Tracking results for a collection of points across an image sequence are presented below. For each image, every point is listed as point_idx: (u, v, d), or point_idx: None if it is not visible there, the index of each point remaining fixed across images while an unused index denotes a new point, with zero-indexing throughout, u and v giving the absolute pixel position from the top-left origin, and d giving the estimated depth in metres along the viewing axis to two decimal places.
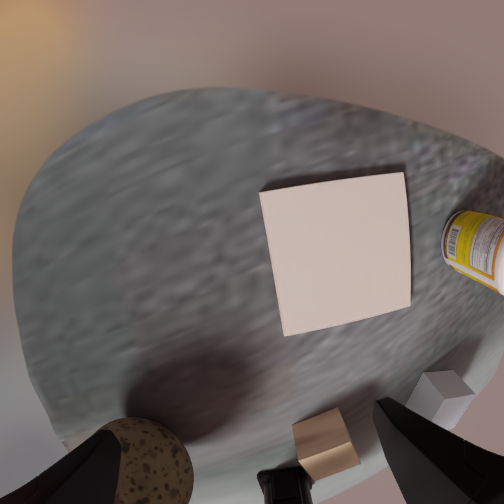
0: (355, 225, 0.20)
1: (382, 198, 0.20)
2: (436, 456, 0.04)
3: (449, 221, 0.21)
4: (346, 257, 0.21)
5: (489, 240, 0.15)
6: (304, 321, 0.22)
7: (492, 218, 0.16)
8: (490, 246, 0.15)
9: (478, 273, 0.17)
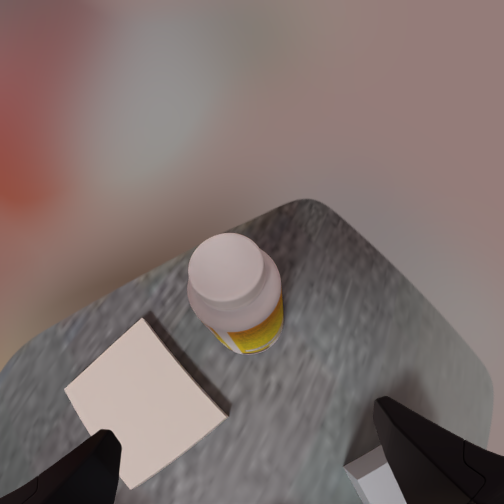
0: (125, 379, 0.21)
1: (135, 347, 0.22)
2: (436, 456, 0.04)
3: None
4: (132, 407, 0.20)
5: None
6: (136, 472, 0.17)
7: None
8: None
9: (219, 336, 0.18)
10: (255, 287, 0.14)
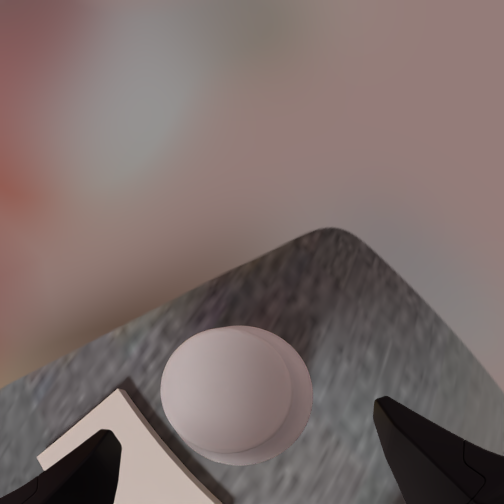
0: None
1: (111, 425, 0.15)
2: (436, 456, 0.04)
3: None
4: None
5: None
6: None
7: None
8: None
9: None
10: (276, 431, 0.07)
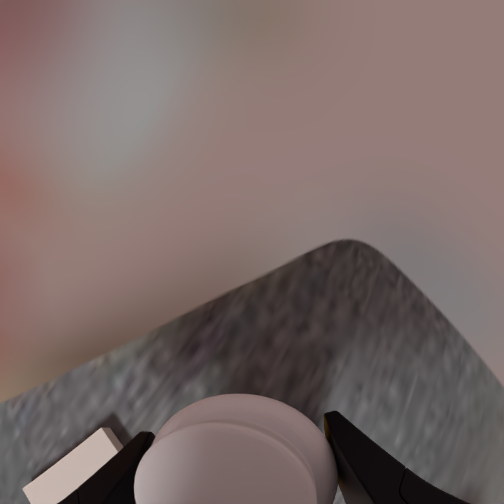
0: None
1: (96, 467, 0.12)
2: (370, 482, 0.04)
3: None
4: None
5: None
6: None
7: None
8: None
9: None
10: None
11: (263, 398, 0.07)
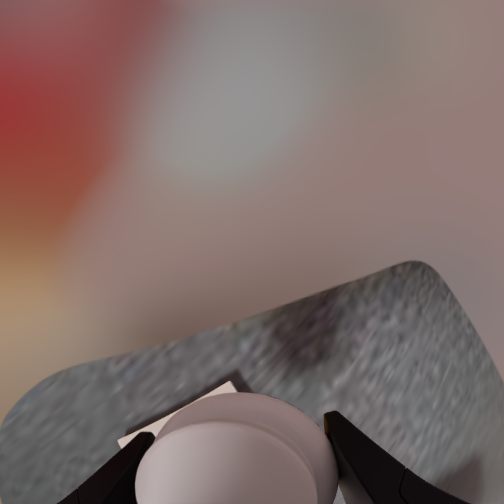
0: None
1: None
2: (370, 482, 0.04)
3: None
4: None
5: None
6: None
7: None
8: None
9: None
10: None
11: (264, 397, 0.07)
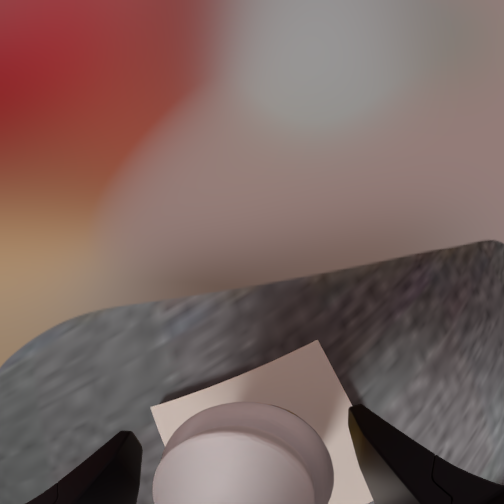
0: None
1: (297, 381, 0.15)
2: (403, 470, 0.04)
3: None
4: None
5: None
6: None
7: None
8: None
9: None
10: None
11: (267, 406, 0.08)
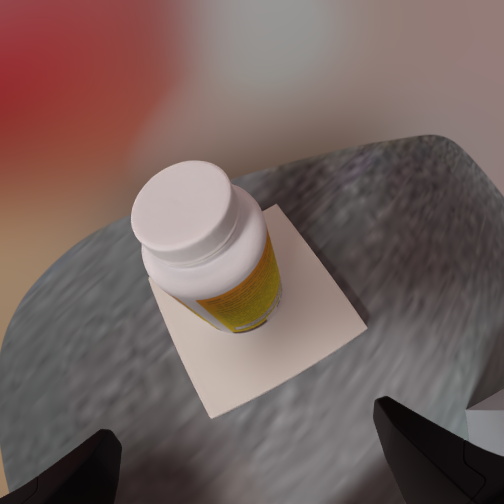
0: None
1: None
2: (436, 456, 0.04)
3: None
4: None
5: None
6: (228, 394, 0.16)
7: None
8: None
9: (192, 310, 0.13)
10: (220, 224, 0.09)
11: None
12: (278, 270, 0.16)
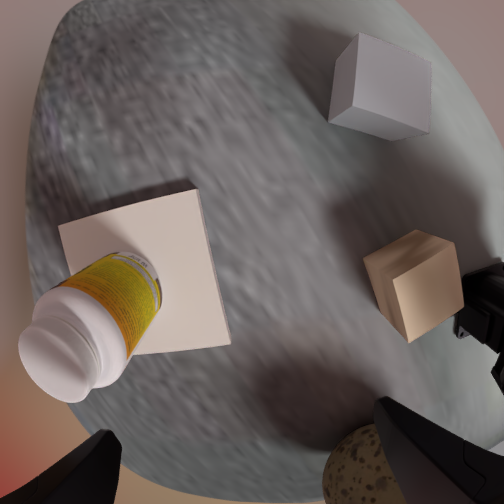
0: None
1: (82, 249, 0.19)
2: (436, 456, 0.04)
3: None
4: None
5: None
6: (212, 325, 0.20)
7: None
8: None
9: (133, 353, 0.14)
10: (72, 347, 0.09)
11: None
12: (115, 261, 0.16)
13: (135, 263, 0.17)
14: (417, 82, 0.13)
